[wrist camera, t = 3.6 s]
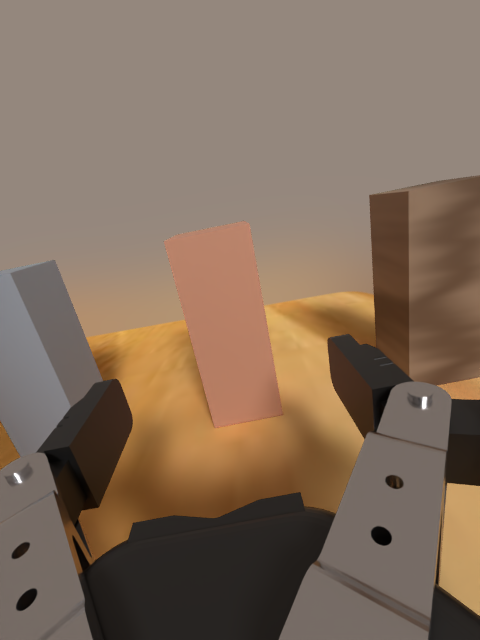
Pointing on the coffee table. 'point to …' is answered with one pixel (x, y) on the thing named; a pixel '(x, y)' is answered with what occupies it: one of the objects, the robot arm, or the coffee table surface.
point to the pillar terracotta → (226, 321)
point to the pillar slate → (39, 354)
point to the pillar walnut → (428, 278)
